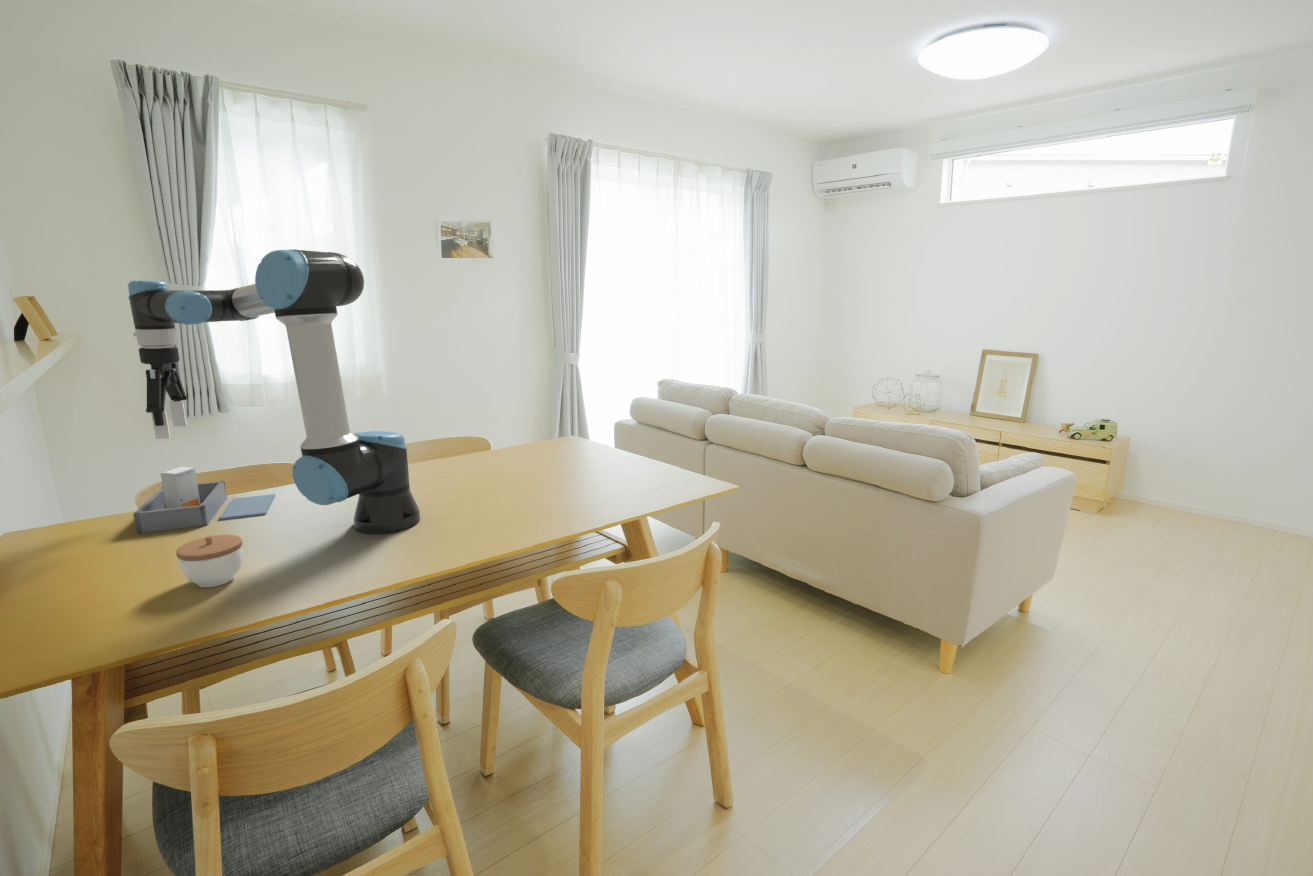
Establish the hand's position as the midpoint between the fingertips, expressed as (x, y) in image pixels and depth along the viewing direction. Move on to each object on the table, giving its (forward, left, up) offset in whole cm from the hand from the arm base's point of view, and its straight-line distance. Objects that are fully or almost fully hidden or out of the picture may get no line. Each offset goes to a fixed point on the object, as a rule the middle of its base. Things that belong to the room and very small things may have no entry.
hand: (172, 432), depth 157 cm
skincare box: (0, 0, -22) cm, 22 cm away
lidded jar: (-47, -16, -22) cm, 54 cm away
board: (0, -14, -22) cm, 26 cm away
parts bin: (0, 0, -22) cm, 22 cm away
